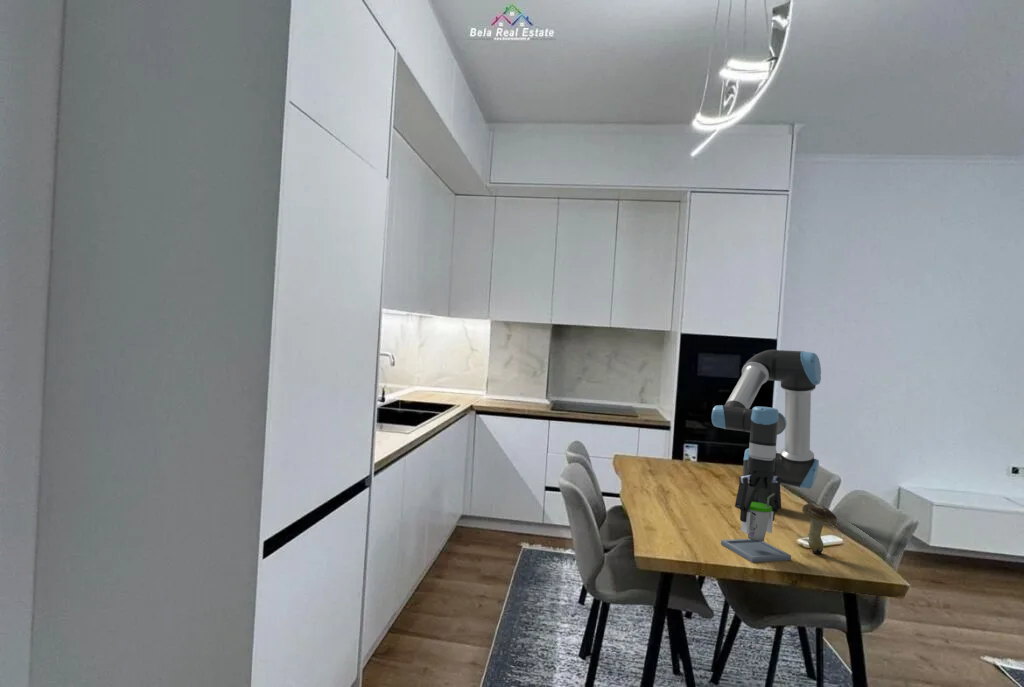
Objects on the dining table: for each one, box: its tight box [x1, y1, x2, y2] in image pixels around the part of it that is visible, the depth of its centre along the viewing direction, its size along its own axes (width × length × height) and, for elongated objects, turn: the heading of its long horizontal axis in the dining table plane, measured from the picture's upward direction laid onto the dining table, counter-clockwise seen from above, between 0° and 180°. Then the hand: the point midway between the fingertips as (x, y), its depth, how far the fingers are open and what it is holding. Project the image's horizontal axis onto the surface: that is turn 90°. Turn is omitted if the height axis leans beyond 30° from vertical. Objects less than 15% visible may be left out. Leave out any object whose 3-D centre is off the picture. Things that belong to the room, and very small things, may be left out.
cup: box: [747, 493, 775, 542], centre depth 172 cm, size 8×8×15 cm
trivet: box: [720, 538, 792, 563], centre depth 172 cm, size 14×14×1 cm
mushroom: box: [801, 502, 838, 555], centre depth 175 cm, size 9×9×15 cm
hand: (756, 531), depth 172 cm, fingers closed on cup, 8 cm apart
